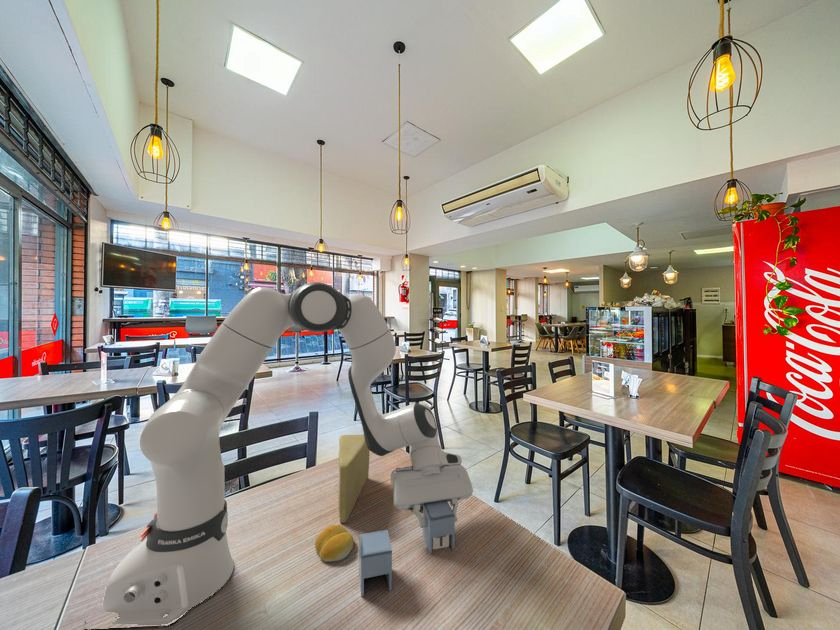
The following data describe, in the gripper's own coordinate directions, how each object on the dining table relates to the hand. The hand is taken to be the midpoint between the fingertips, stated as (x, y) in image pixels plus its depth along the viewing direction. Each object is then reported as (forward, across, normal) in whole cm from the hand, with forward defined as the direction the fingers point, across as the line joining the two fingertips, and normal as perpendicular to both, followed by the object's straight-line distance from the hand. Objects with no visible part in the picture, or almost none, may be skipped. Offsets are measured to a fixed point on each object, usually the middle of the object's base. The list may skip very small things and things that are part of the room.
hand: (439, 524), depth 74 cm
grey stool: (+3, 0, +4) cm, 5 cm away
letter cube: (+3, 0, +4) cm, 5 cm away
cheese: (-13, -20, +20) cm, 31 cm away
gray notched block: (+8, -16, -1) cm, 18 cm away
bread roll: (0, -24, +7) cm, 25 cm away
